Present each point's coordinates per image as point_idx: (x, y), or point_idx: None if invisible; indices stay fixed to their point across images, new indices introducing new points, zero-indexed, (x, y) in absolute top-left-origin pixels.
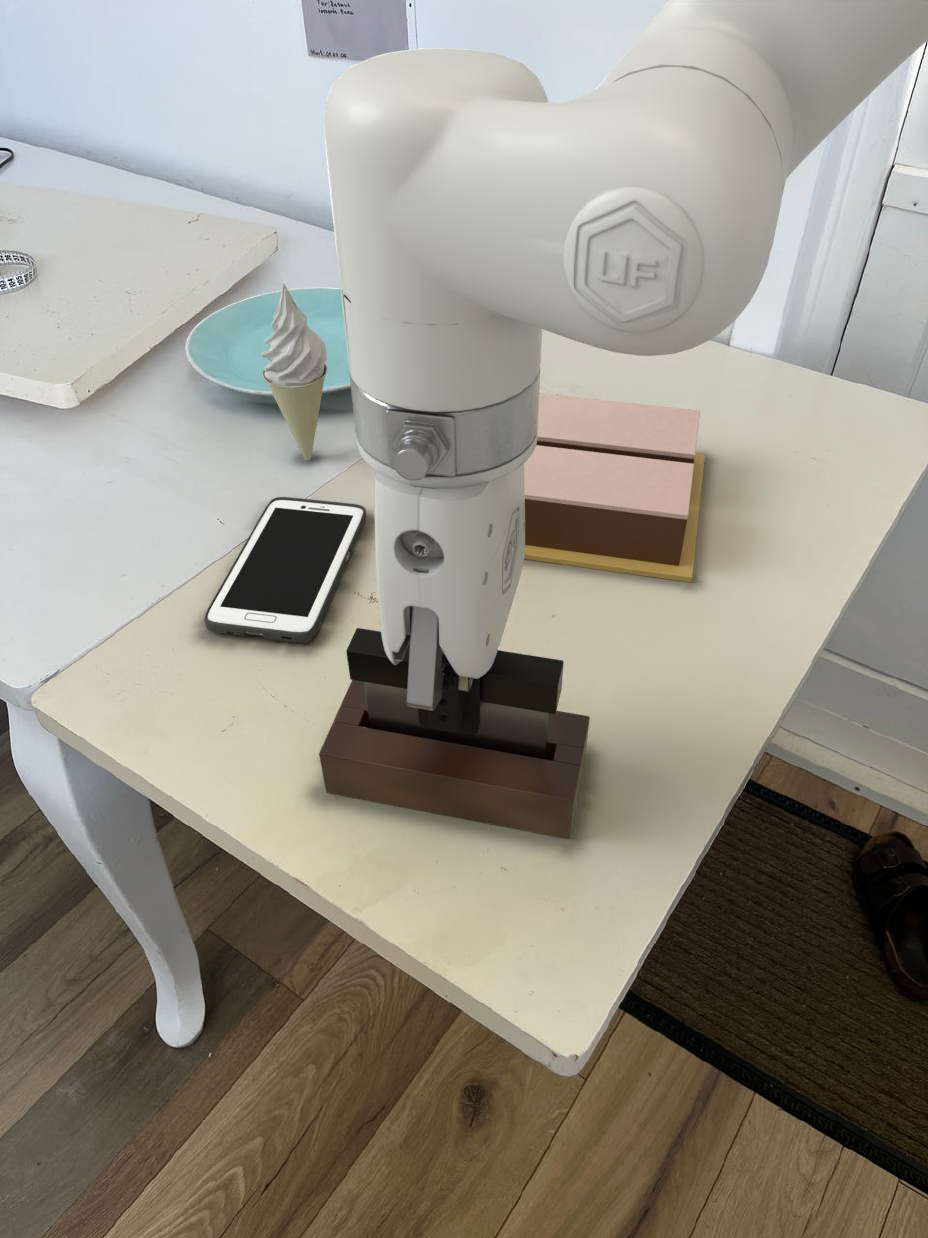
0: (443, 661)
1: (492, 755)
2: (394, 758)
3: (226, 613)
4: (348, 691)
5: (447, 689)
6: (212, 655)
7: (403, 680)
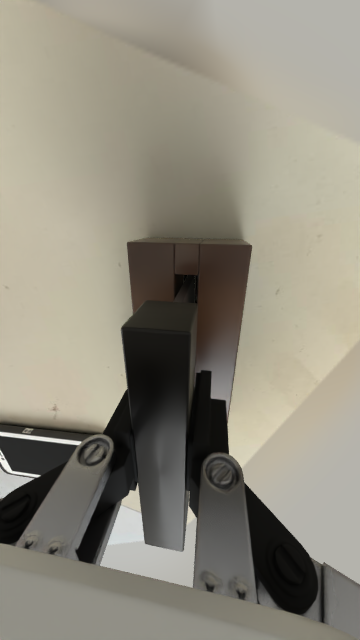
0: (175, 481)
1: (202, 333)
2: None
3: None
4: None
5: (312, 564)
6: None
7: None
